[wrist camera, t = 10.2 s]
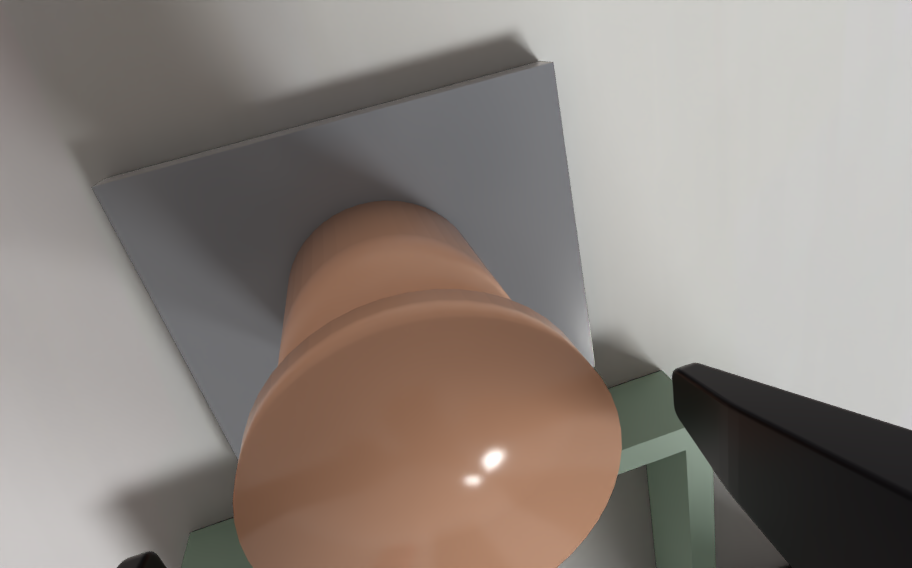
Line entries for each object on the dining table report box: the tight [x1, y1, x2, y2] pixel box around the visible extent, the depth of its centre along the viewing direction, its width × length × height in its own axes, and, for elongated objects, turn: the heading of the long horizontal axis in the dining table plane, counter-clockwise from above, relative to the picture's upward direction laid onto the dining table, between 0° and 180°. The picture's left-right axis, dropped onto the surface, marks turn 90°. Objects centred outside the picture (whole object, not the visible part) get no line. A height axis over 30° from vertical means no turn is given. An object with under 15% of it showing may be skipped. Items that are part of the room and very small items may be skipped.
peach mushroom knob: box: [233, 201, 622, 568], centre depth 13 cm, size 6×6×8 cm
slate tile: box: [92, 61, 595, 460], centre depth 17 cm, size 12×10×1 cm
